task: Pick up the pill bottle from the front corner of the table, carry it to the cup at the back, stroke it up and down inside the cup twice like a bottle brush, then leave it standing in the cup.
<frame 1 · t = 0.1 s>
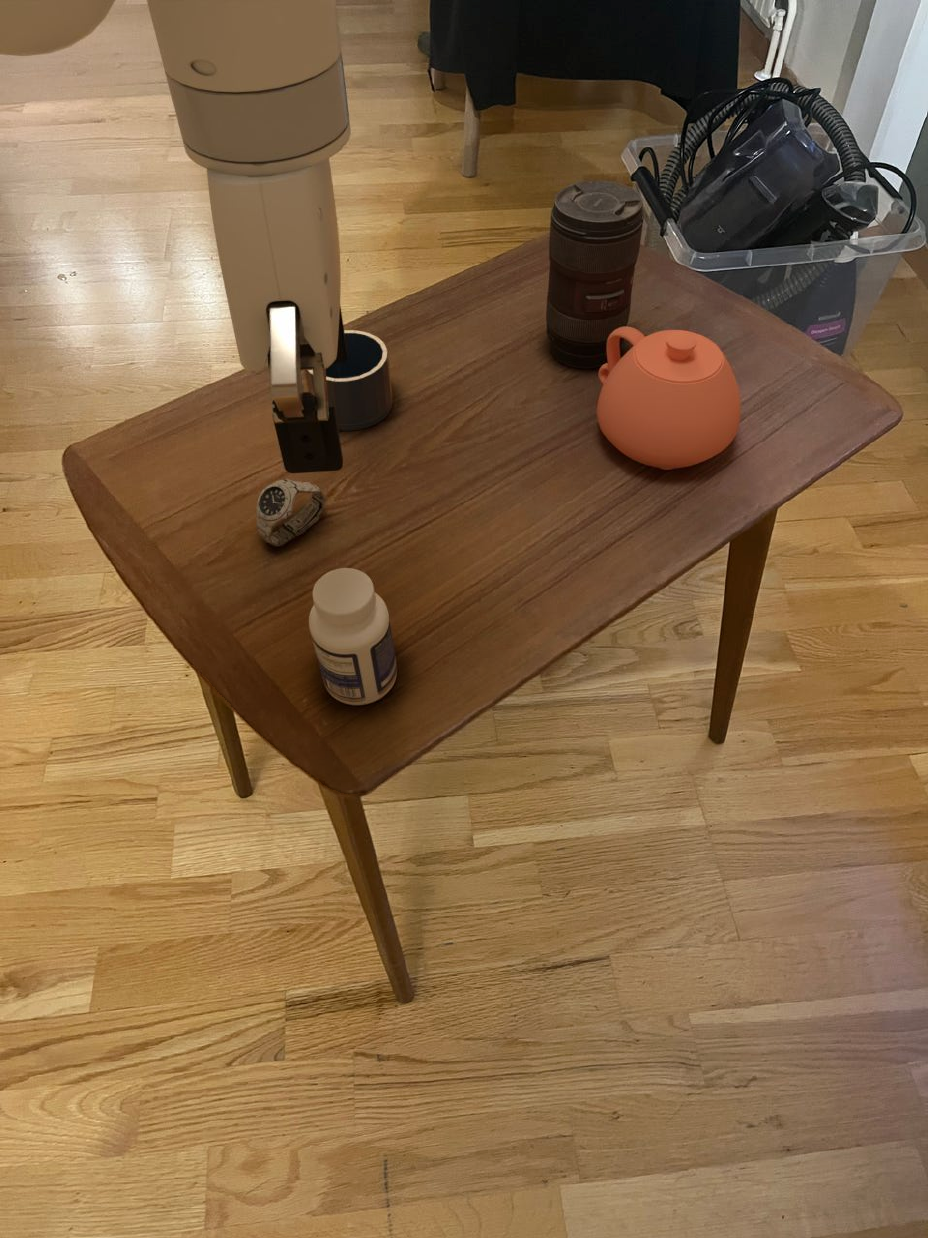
hand: (318, 412, 54), 20 cm above the table, tool pointing down, fingers open, 9 cm apart
wristwatch: (296, 531, 76), on the table
cup: (352, 404, 86), on the table
pill bottle: (360, 677, 66), on the table
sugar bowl: (655, 433, 82), on the table
camera lens: (584, 349, 90), on the table
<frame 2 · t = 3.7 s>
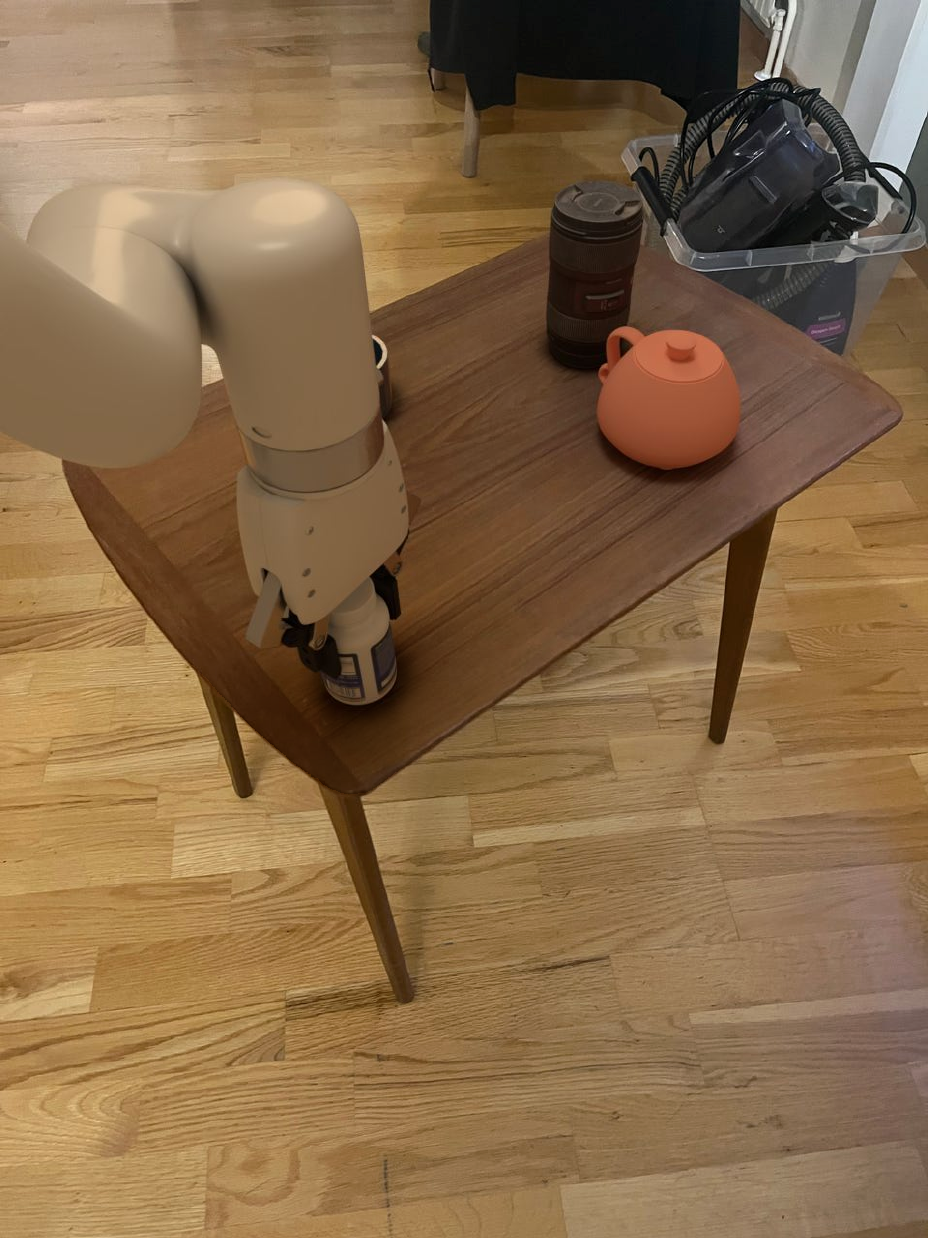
hand: (352, 635, 62), 5 cm above the table, tool pointing down, fingers closed on pill bottle, 5 cm apart
pill bottle: (360, 677, 66), on the table, touching gripper
everything else where it was.
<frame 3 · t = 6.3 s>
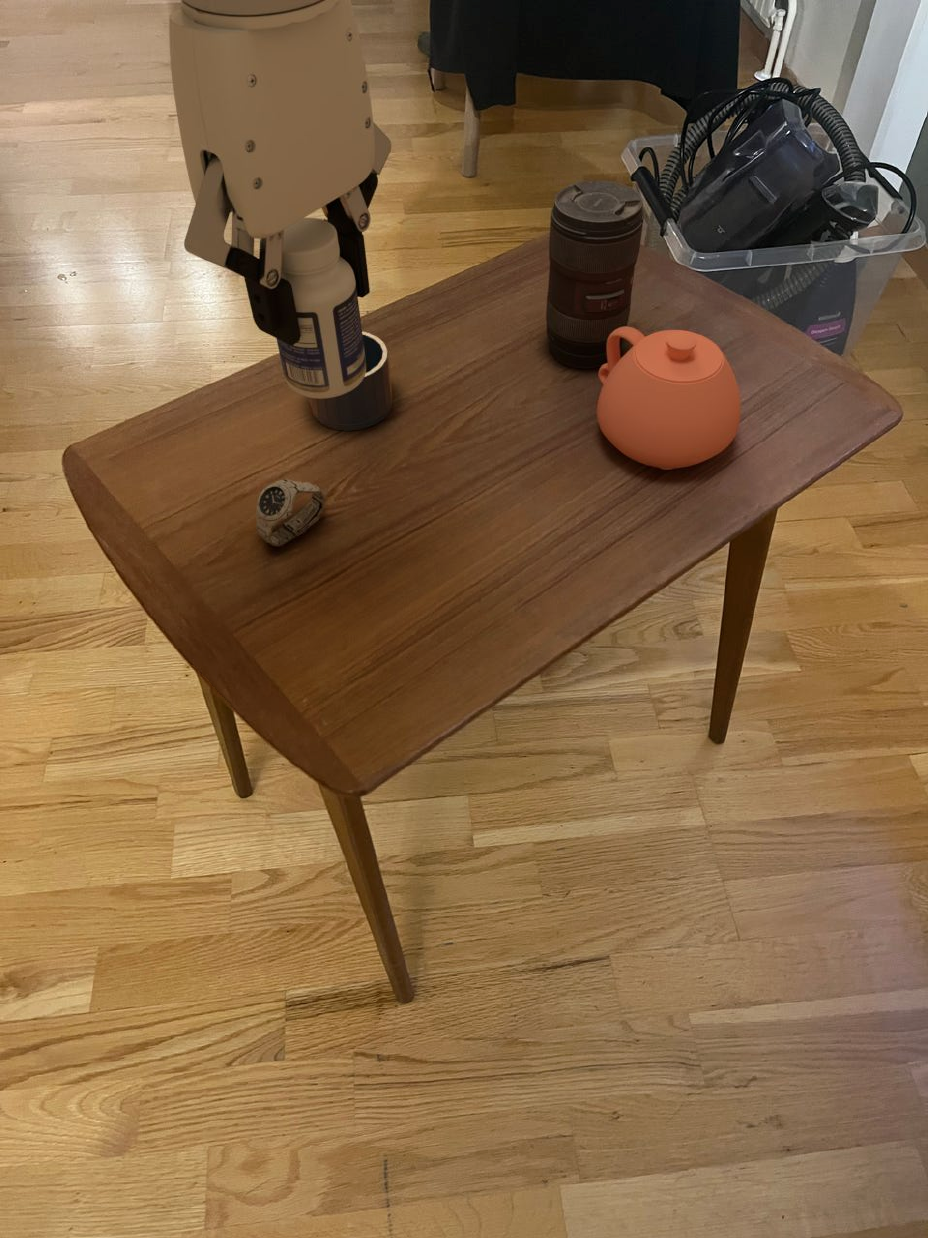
hand: (314, 308, 56), 22 cm above the table, tool pointing down, fingers closed on pill bottle, 5 cm apart
pill bottle: (326, 377, 60), point 17 cm above the table, touching gripper
everything else where it was.
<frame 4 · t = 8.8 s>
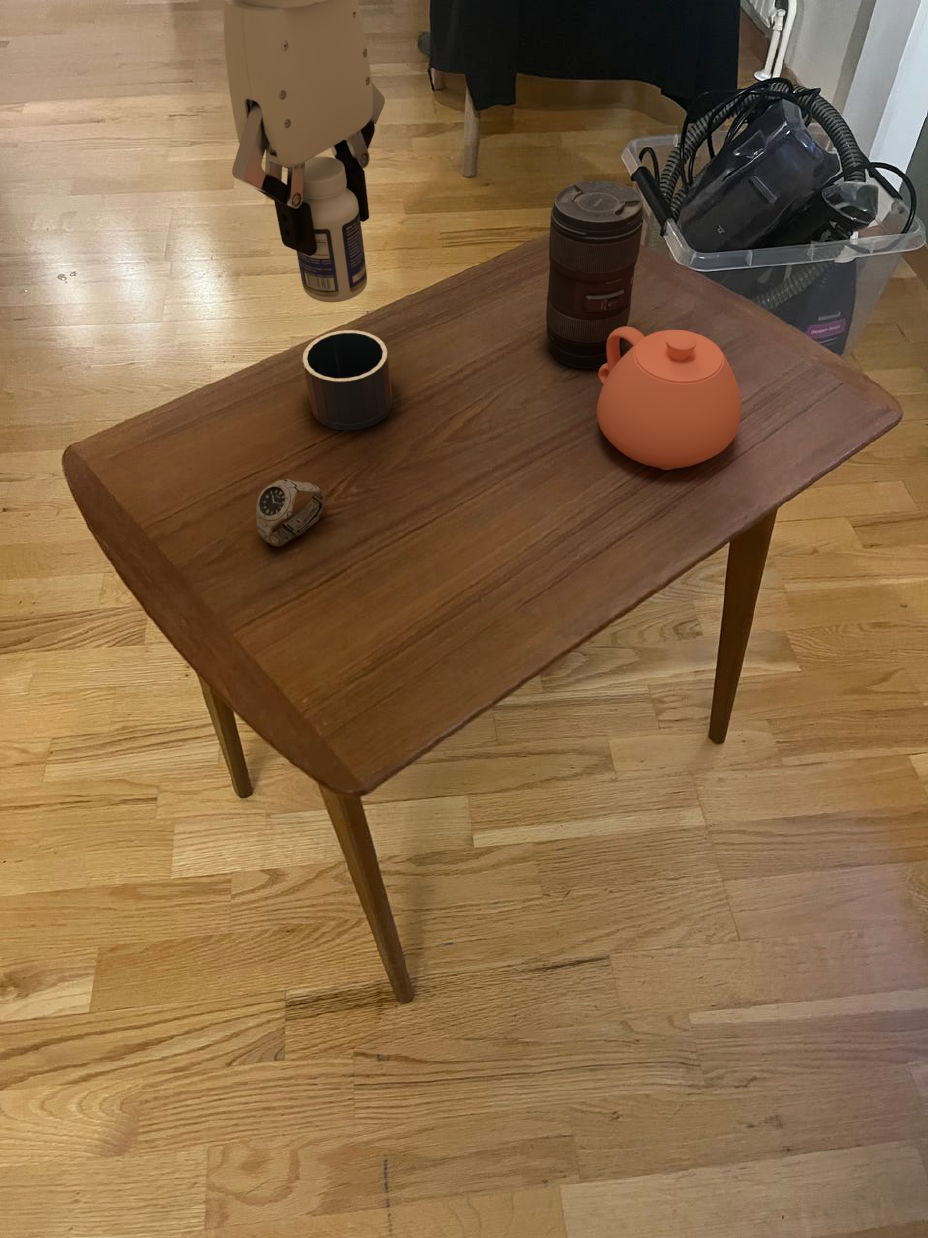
hand: (326, 230, 72), 17 cm above the table, tool pointing down, fingers closed on pill bottle, 5 cm apart
pill bottle: (335, 288, 76), point 12 cm above the table, touching gripper
everything else where it was.
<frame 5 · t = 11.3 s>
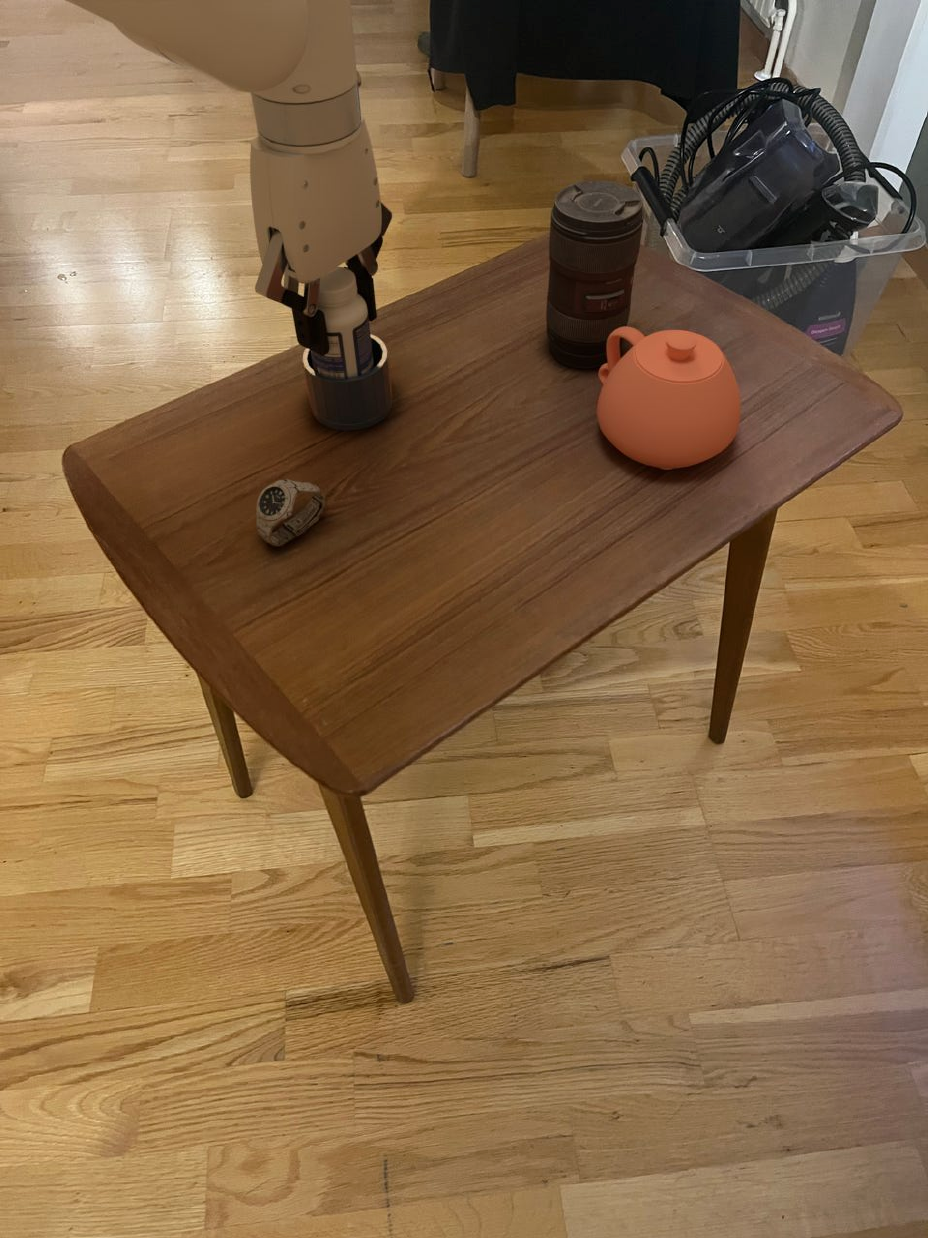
hand: (337, 329, 79), 8 cm above the table, tool pointing down, fingers closed on pill bottle, 5 cm apart
pill bottle: (345, 378, 83), point 3 cm above the table, touching gripper
everything else where it was.
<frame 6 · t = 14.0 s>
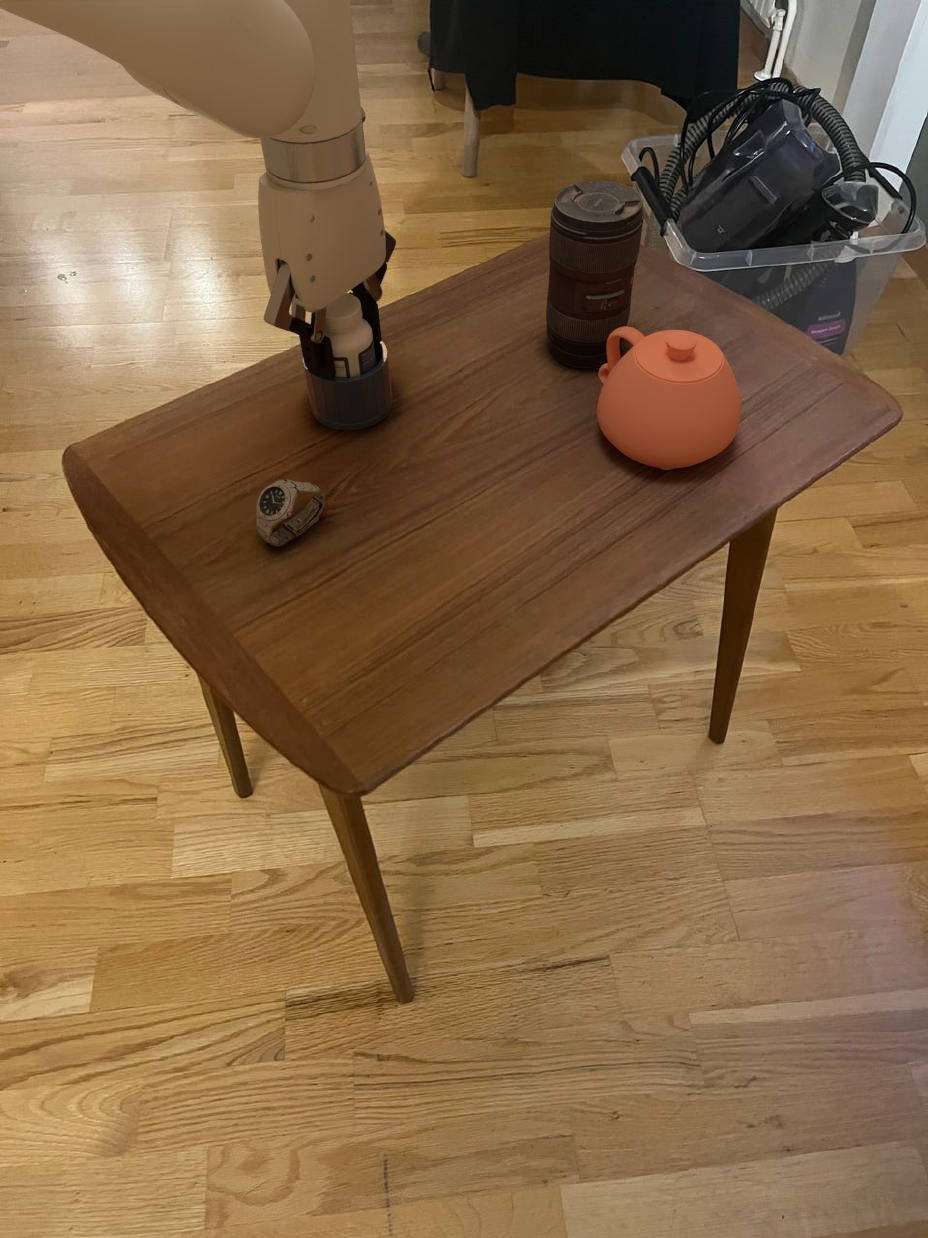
hand: (343, 353, 81), 6 cm above the table, tool pointing down, fingers closed on pill bottle, 5 cm apart
pill bottle: (351, 399, 85), point 1 cm above the table, touching gripper
everything else where it was.
when the fingers open (6 cm above the table, at t = 14.2 s): pill bottle stays where it is, resting on cup.
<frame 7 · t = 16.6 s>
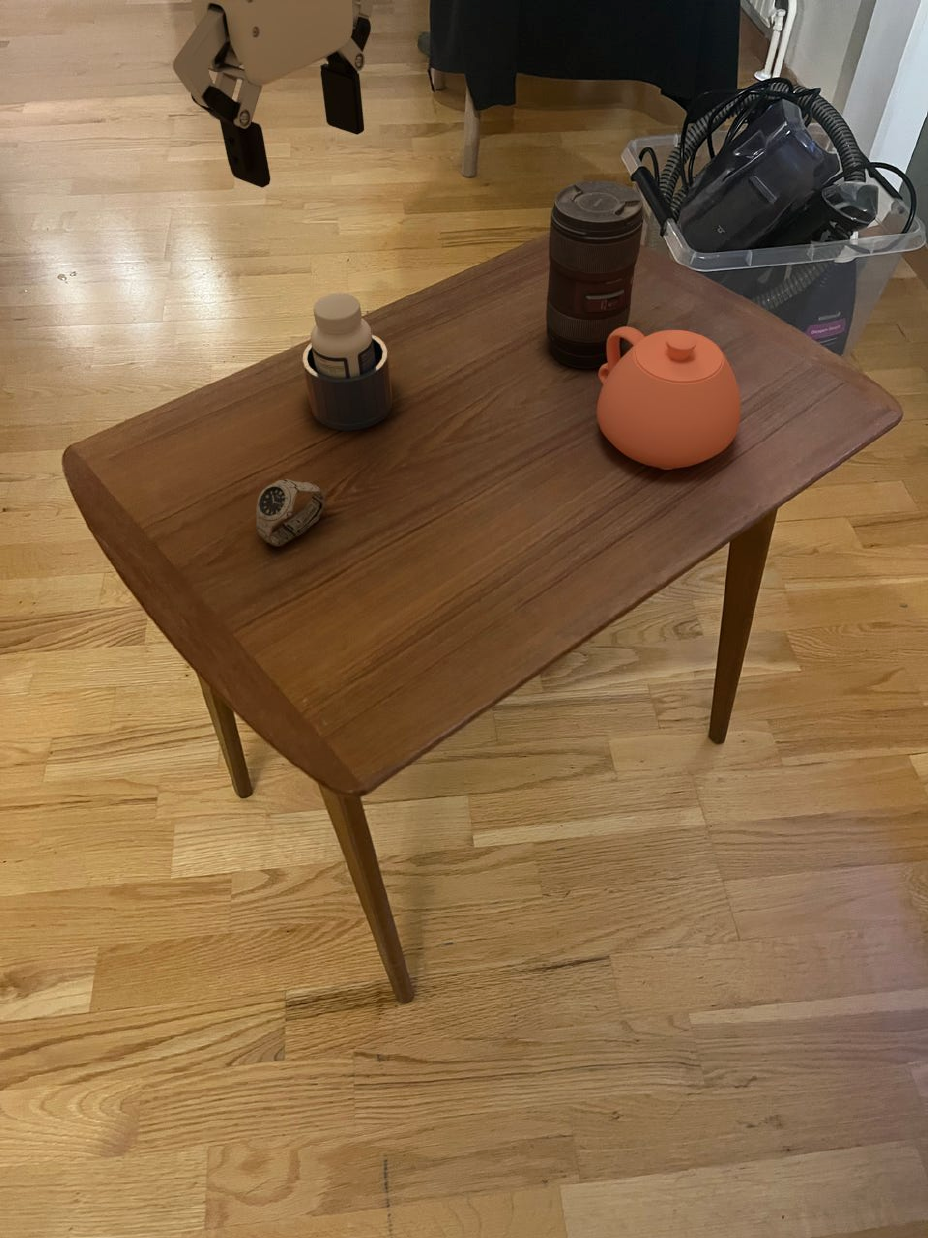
hand: (300, 153, 65), 24 cm above the table, tool pointing down, fingers open, 9 cm apart
pill bottle: (351, 400, 85), point 1 cm above the table, touching cup
everything else where it was.
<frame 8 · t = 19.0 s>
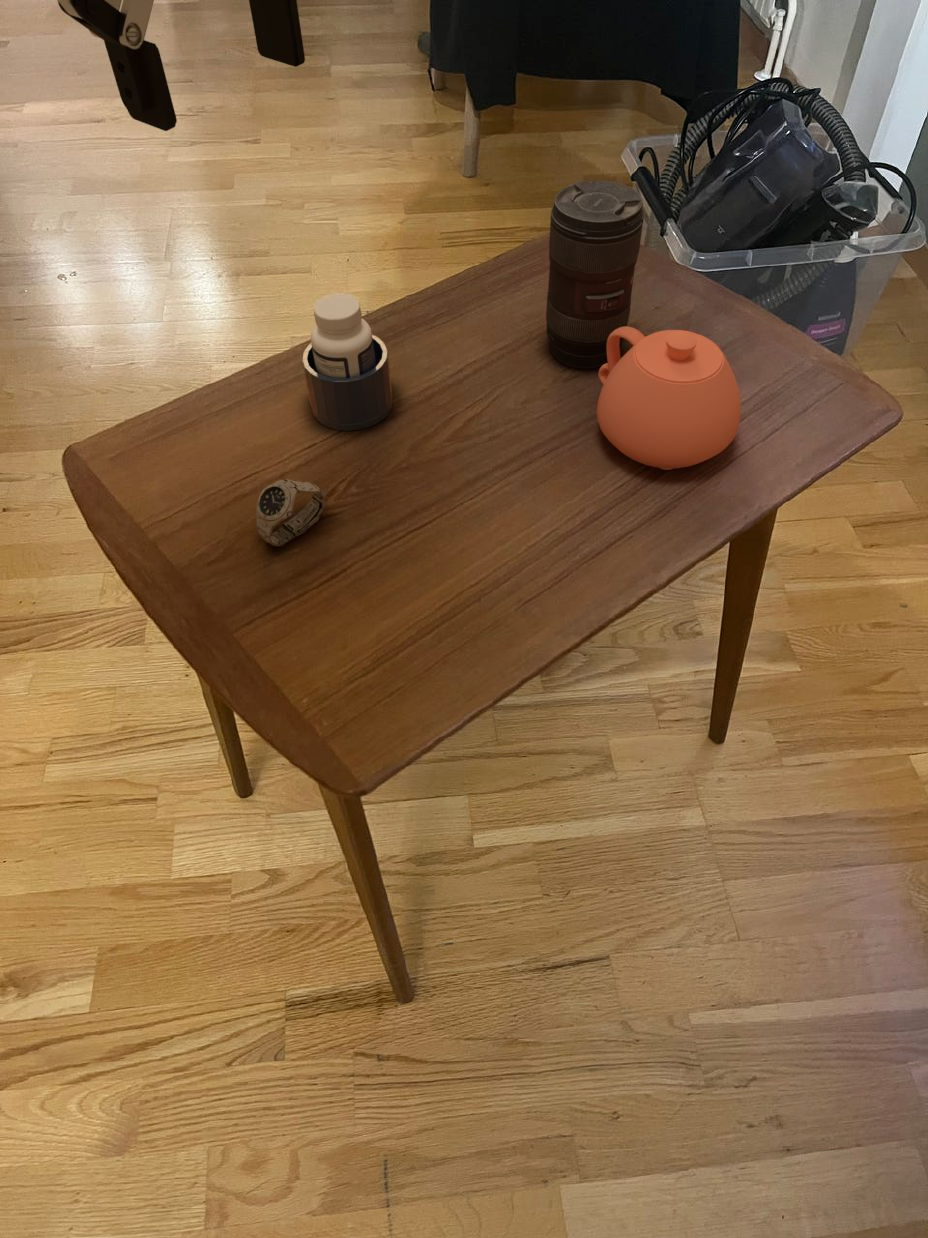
hand: (221, 89, 50), 33 cm above the table, tool pointing down, fingers open, 9 cm apart
nothing on the table moved.
at the end: pill bottle 0.1 cm off-centre in the cup, point 0.6 cm above the cup's base; pill bottle tilted 0°; the gripper is holding nothing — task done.
